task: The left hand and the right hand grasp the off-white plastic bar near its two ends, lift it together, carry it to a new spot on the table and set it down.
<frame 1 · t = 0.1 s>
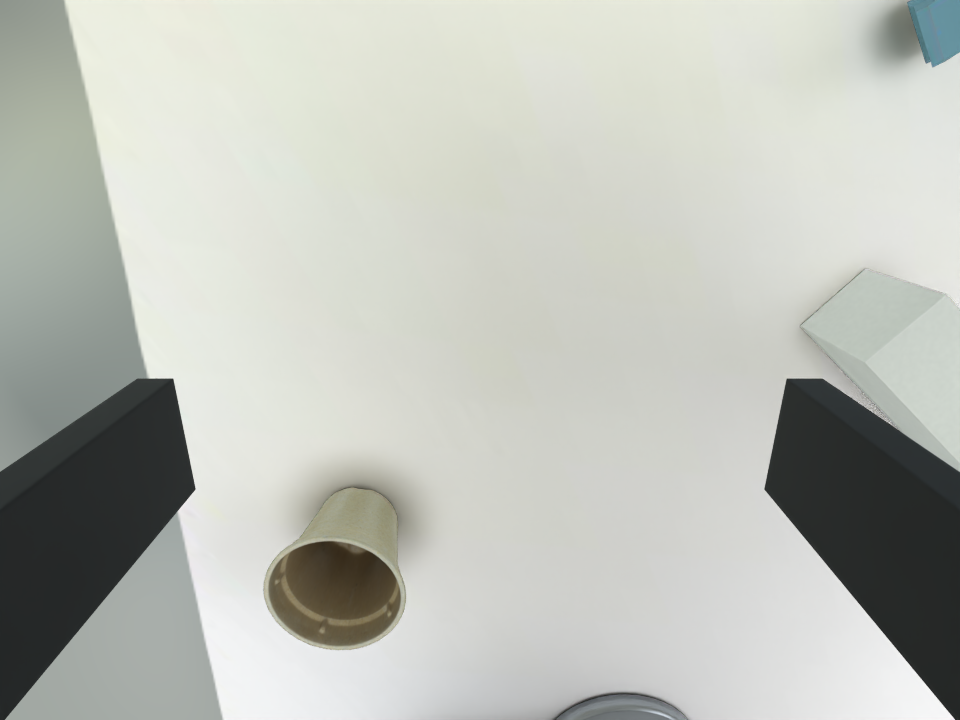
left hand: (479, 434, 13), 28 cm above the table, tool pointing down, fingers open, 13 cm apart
flower pot: (360, 516, 47), on the table
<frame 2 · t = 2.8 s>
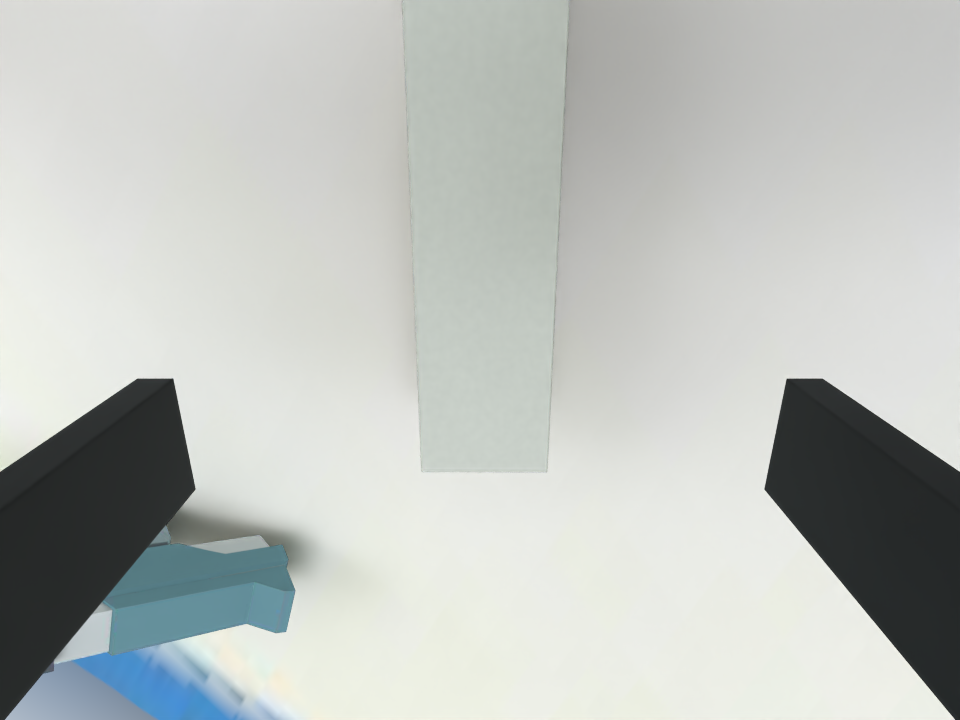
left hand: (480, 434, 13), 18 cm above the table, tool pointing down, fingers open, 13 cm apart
toy gun: (171, 525, 35), on the table
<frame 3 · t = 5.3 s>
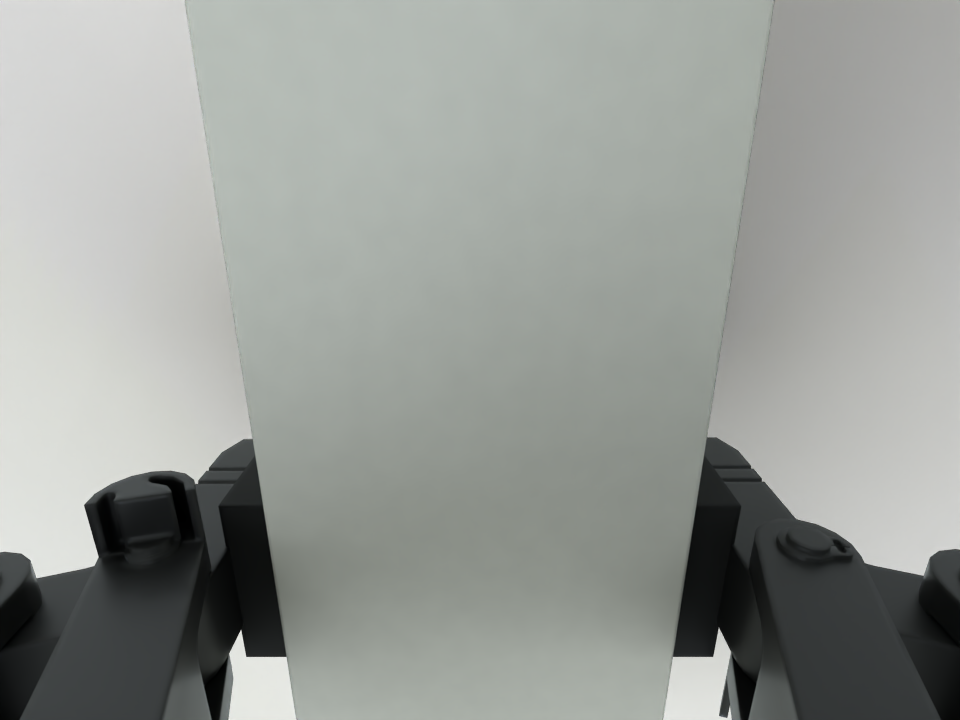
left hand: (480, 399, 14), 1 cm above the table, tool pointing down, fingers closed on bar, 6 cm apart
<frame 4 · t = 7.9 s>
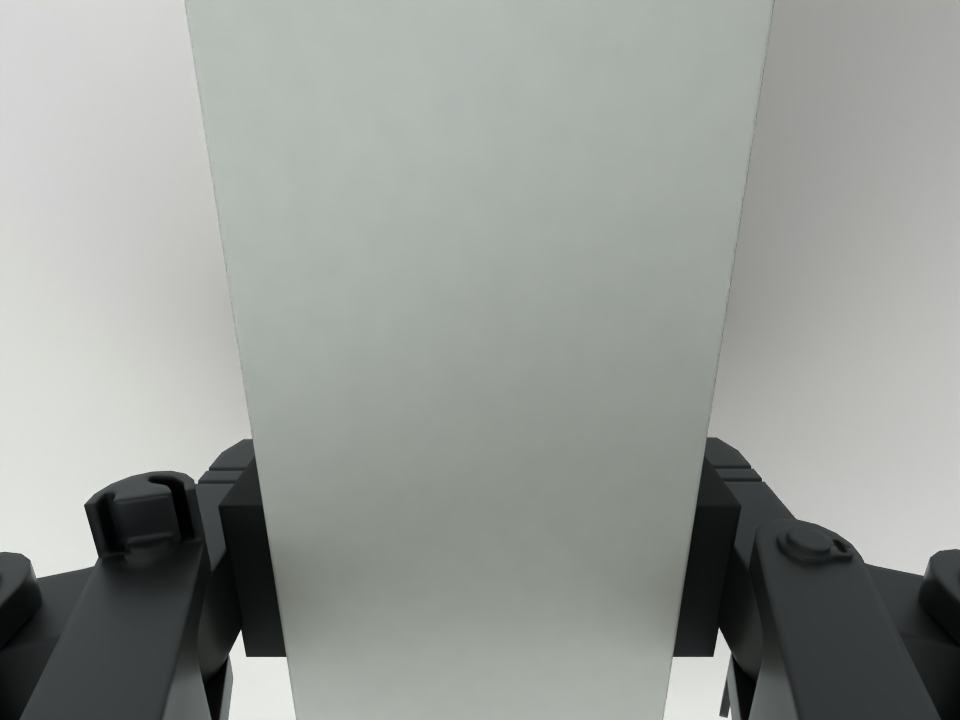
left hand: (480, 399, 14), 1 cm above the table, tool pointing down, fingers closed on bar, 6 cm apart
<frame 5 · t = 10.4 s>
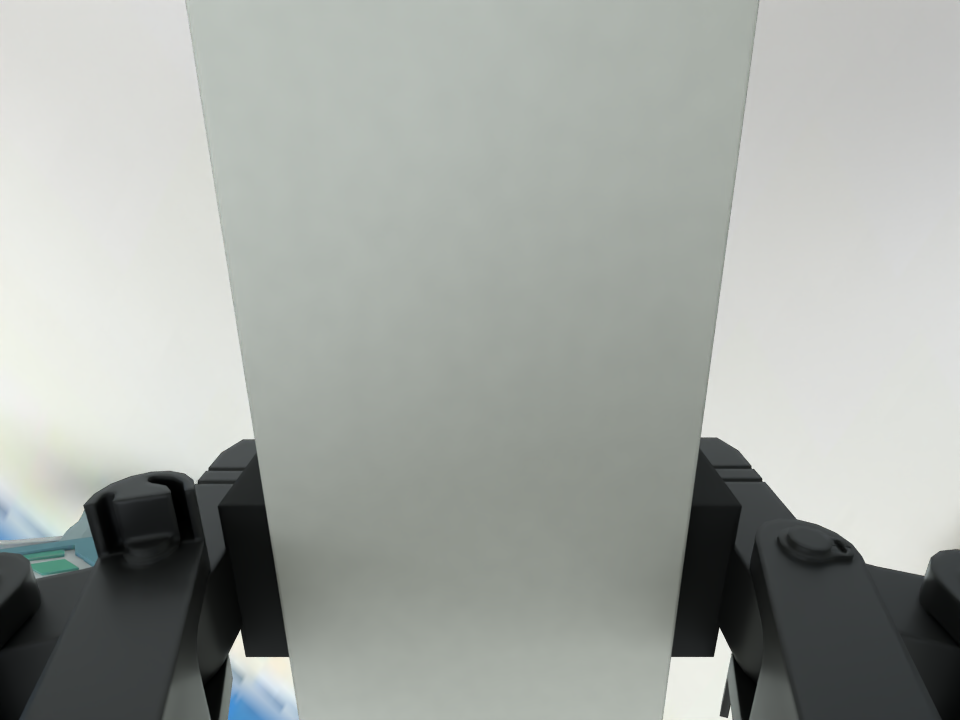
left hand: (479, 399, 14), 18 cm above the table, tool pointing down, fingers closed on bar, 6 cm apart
toy gun: (173, 509, 37), on the table
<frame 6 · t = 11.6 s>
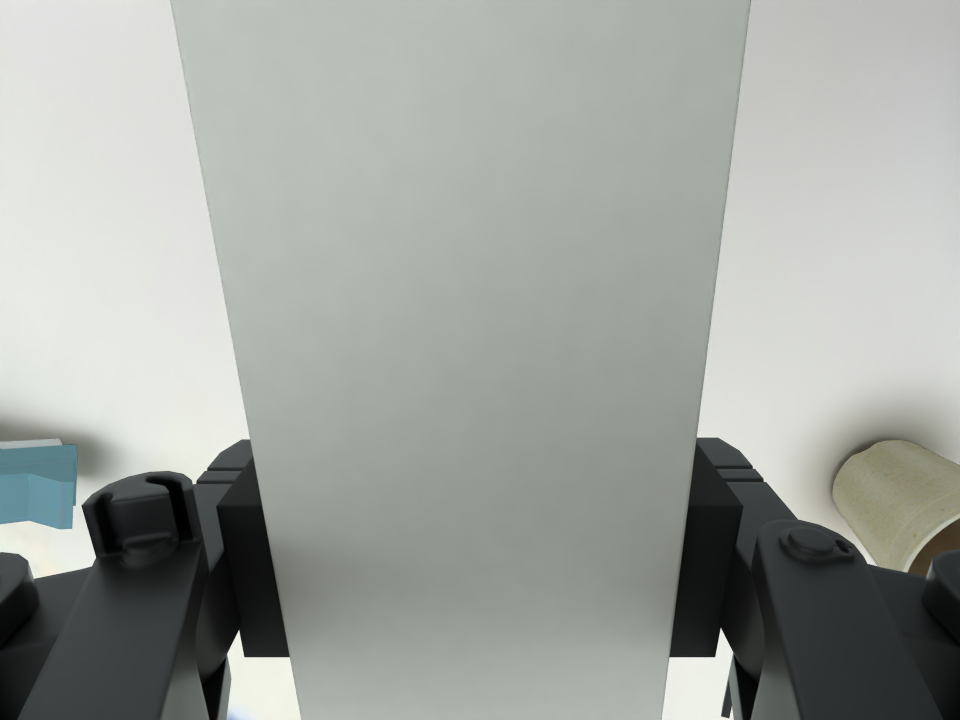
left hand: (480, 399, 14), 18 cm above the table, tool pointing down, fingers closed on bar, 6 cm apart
flower pot: (876, 480, 36), on the table
when the left hand's fingers open (1 cm above the table, at t = 15.5 s): bar stays where it is, on the table.
when the right hand's fingers open (3 cm above the table, at t = 15.7 s): bar stays where it is, on the table.
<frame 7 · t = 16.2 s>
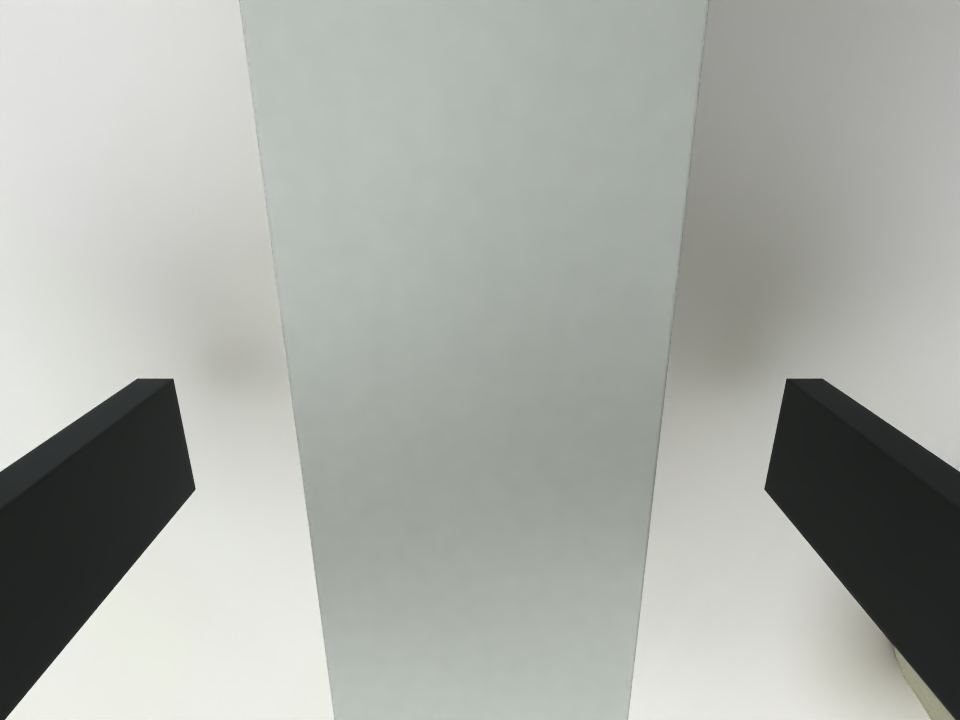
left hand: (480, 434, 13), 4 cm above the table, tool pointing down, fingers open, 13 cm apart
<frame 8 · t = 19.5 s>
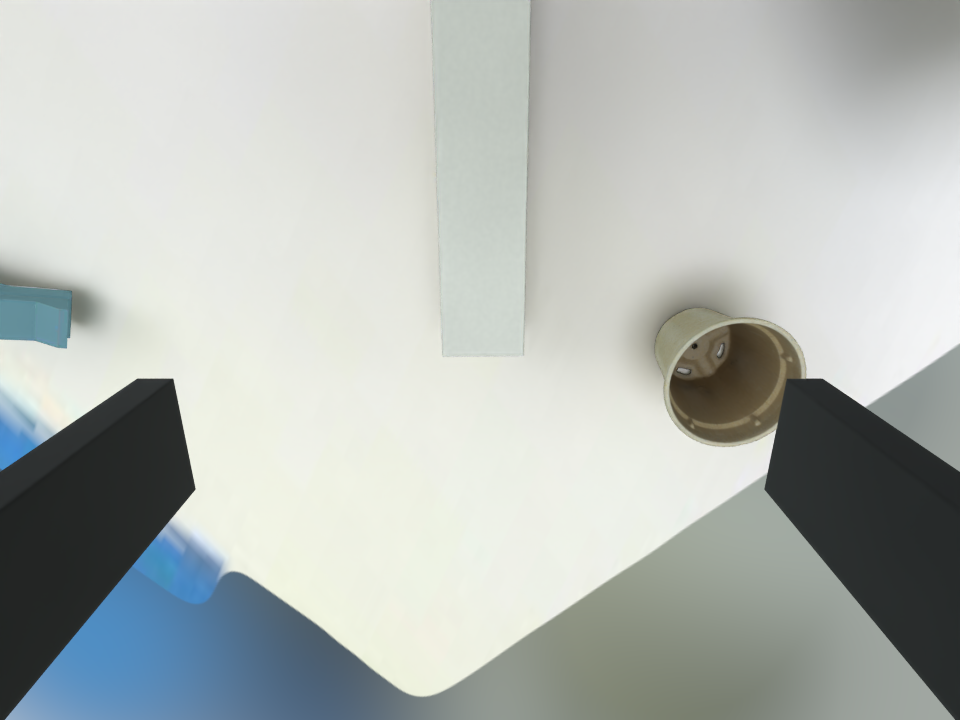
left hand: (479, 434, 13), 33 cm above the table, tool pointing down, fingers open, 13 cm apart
flower pot: (690, 343, 47), on the table
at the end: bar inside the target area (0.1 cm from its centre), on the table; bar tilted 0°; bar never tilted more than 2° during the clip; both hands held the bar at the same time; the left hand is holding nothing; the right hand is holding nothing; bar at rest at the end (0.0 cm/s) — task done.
